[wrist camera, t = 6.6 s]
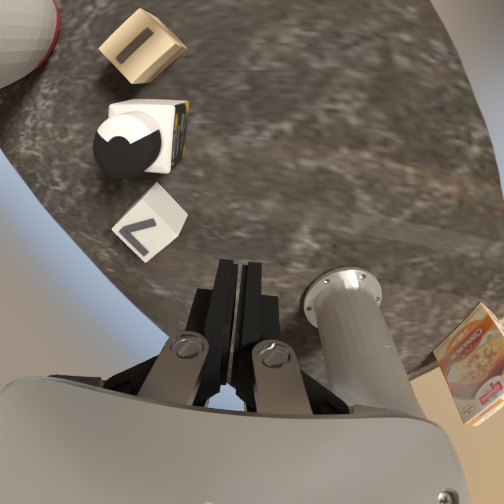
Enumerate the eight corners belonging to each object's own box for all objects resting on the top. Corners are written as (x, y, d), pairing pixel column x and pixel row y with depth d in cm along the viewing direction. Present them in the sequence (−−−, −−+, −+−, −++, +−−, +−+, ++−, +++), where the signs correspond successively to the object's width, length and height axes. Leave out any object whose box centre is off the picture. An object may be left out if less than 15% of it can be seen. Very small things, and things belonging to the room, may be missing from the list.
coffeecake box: (480, 301, 48) (526, 373, 31) (492, 311, 50) (535, 378, 33) (430, 351, 55) (462, 426, 38) (446, 357, 57) (477, 427, 40)
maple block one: (188, 49, 29) (174, 43, 24) (150, 82, 31) (130, 84, 26) (157, 17, 27) (138, 7, 21) (120, 51, 29) (97, 48, 23)
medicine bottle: (184, 157, 36) (155, 191, 26) (130, 153, 36) (85, 185, 25) (189, 100, 33) (159, 110, 22) (133, 98, 32) (84, 110, 22)
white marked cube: (188, 214, 40) (177, 237, 35) (158, 239, 42) (144, 264, 37) (157, 181, 38) (141, 199, 32) (128, 209, 40) (110, 230, 34)
